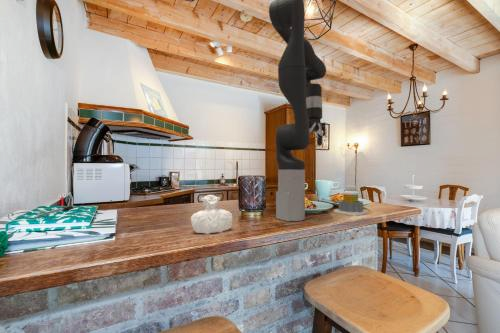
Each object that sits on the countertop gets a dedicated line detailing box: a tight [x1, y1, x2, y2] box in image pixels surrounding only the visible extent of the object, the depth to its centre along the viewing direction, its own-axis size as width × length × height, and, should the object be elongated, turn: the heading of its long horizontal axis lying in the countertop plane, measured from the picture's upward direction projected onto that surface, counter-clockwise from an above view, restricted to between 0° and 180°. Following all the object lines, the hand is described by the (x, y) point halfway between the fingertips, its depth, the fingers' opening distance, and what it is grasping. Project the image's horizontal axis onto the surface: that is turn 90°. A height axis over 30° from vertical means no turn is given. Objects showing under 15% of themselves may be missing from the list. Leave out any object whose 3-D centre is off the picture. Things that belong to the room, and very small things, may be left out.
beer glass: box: [342, 184, 359, 203], centre depth 95 cm, size 5×5×10 cm
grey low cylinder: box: [333, 199, 369, 217], centre depth 94 cm, size 9×9×4 cm
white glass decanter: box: [189, 194, 233, 235], centre depth 68 cm, size 12×8×11 cm
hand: (313, 144), depth 106 cm, fingers open, 8 cm apart
